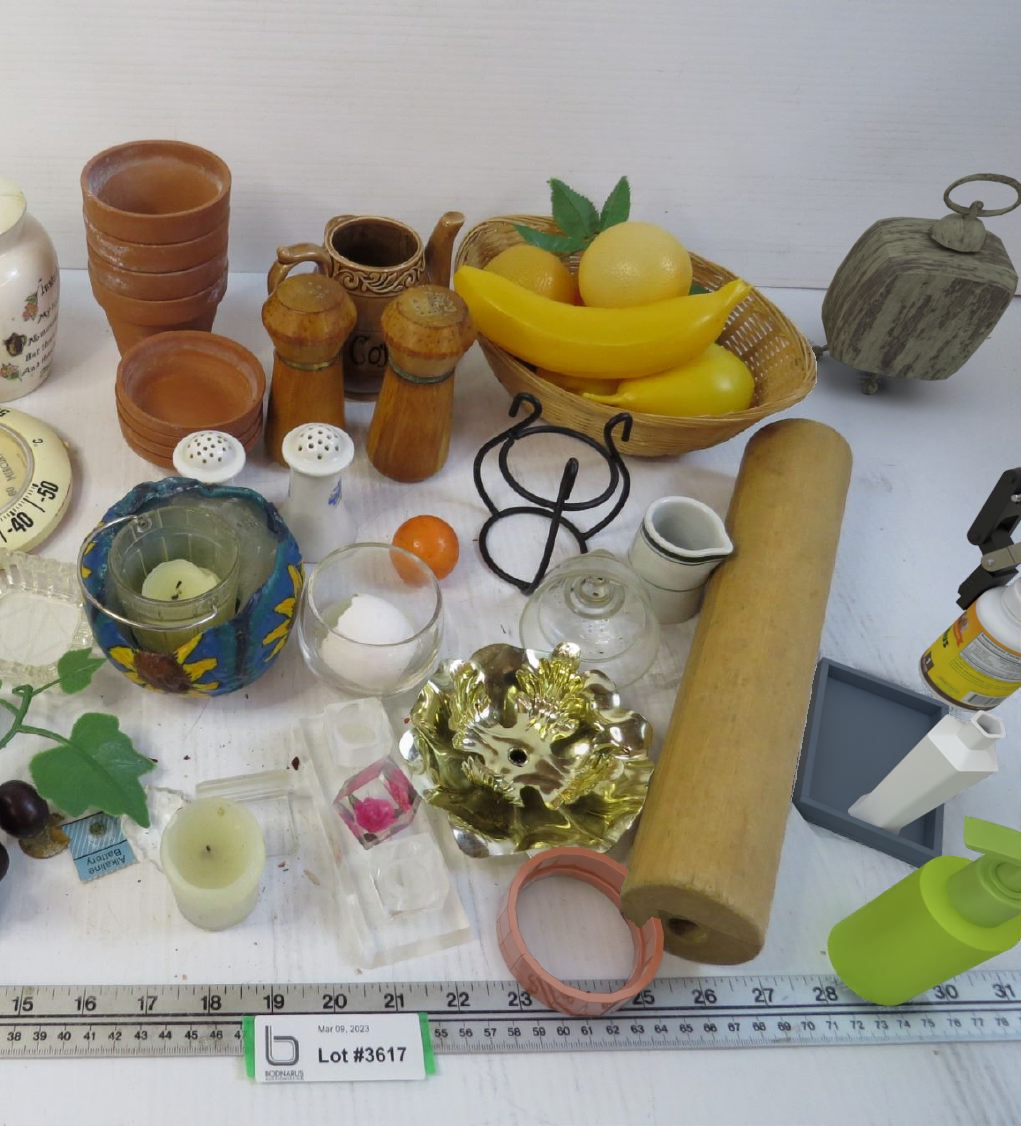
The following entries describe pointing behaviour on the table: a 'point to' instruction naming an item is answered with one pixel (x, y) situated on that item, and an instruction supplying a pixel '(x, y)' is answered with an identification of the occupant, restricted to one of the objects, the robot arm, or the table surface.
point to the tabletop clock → (920, 292)
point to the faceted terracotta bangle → (529, 971)
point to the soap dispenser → (934, 920)
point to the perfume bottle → (933, 771)
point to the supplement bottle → (978, 653)
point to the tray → (863, 756)
